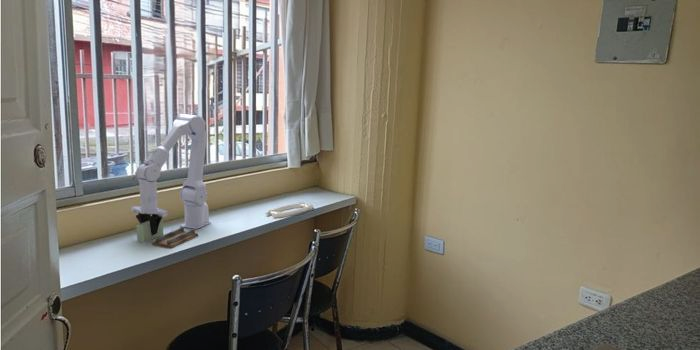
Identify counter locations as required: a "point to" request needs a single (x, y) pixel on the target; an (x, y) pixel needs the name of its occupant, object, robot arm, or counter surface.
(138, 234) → the pale green block
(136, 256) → the counter surface
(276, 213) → the white rectangular tray
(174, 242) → the cabinet track
